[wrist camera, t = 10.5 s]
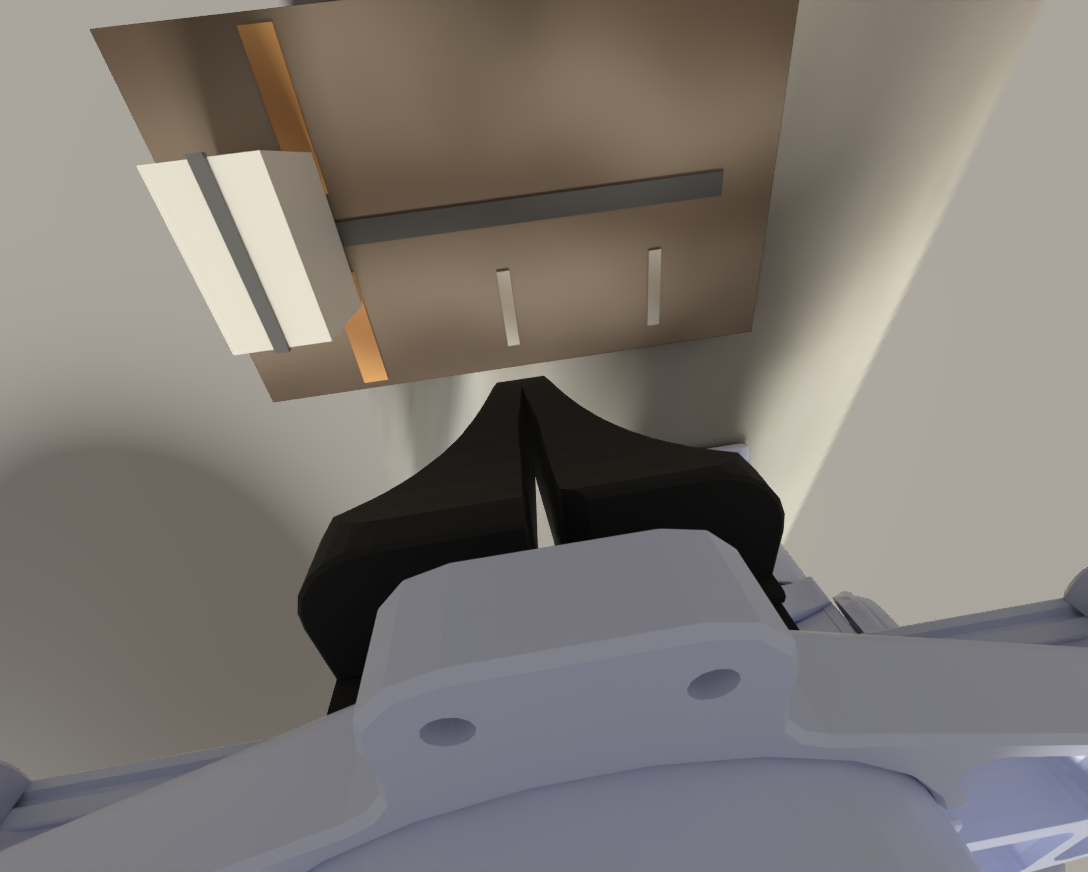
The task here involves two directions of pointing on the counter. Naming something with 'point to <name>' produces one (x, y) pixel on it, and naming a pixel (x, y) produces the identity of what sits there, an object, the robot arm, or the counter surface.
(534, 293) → the fader console
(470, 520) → the robot arm
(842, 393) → the counter surface
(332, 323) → the fader knob
